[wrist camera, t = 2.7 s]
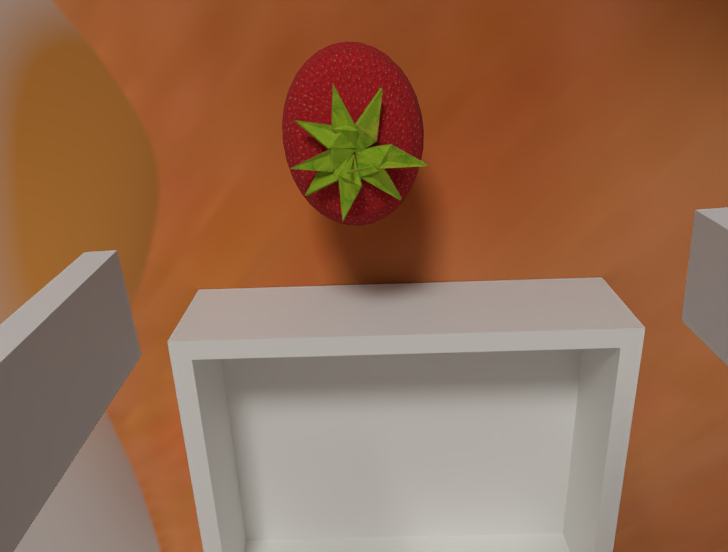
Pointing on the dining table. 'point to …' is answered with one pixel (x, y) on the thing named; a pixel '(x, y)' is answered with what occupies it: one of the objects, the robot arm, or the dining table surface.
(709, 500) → the dining table surface
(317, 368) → the bin
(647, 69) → the dining table surface
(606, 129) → the dining table surface
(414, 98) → the strawberry
